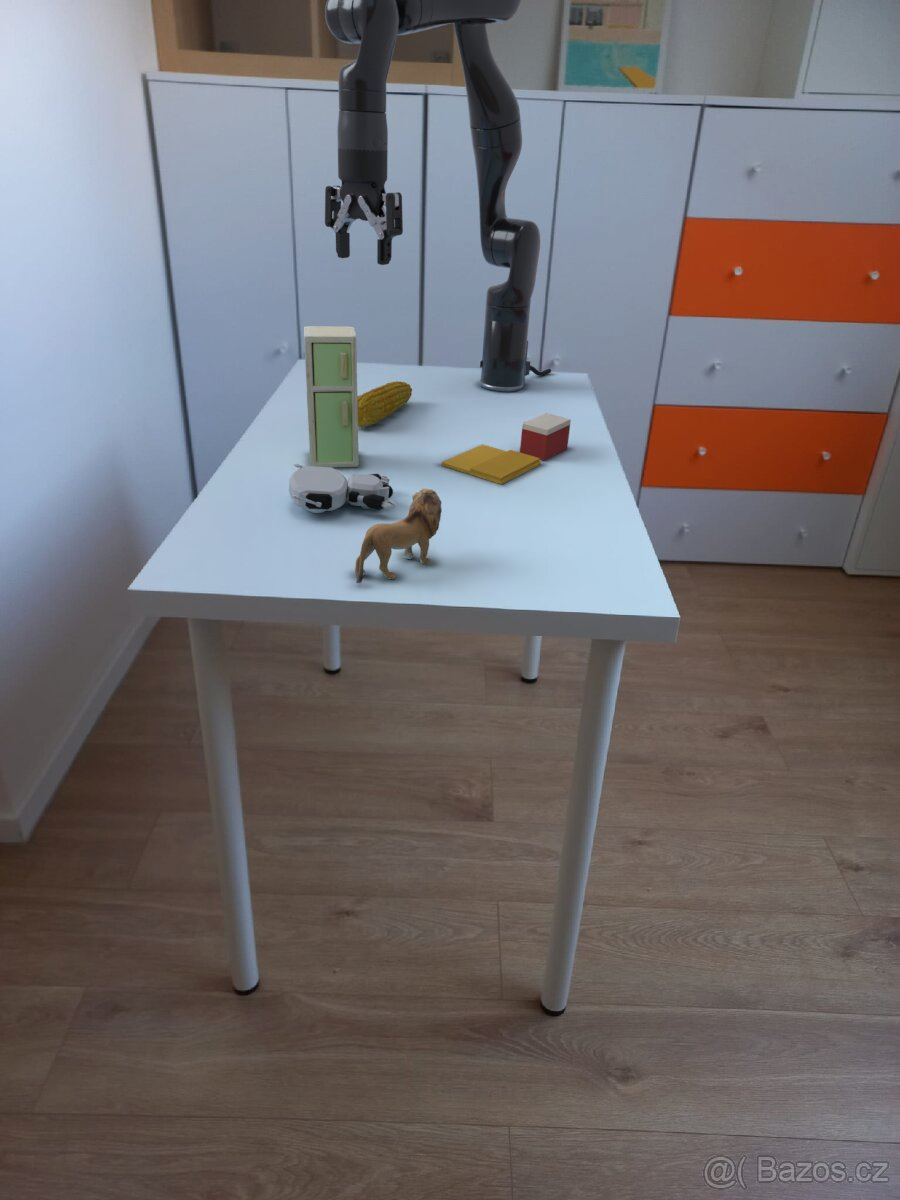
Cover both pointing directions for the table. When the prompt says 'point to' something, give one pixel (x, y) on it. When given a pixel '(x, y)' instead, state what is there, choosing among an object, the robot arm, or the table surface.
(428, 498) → the lion figurine
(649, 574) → the table surface
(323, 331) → the toy refrigerator
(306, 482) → the robot toy
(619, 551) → the table surface
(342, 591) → the table surface
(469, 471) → the cloth
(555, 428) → the toy cooler box
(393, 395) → the food
